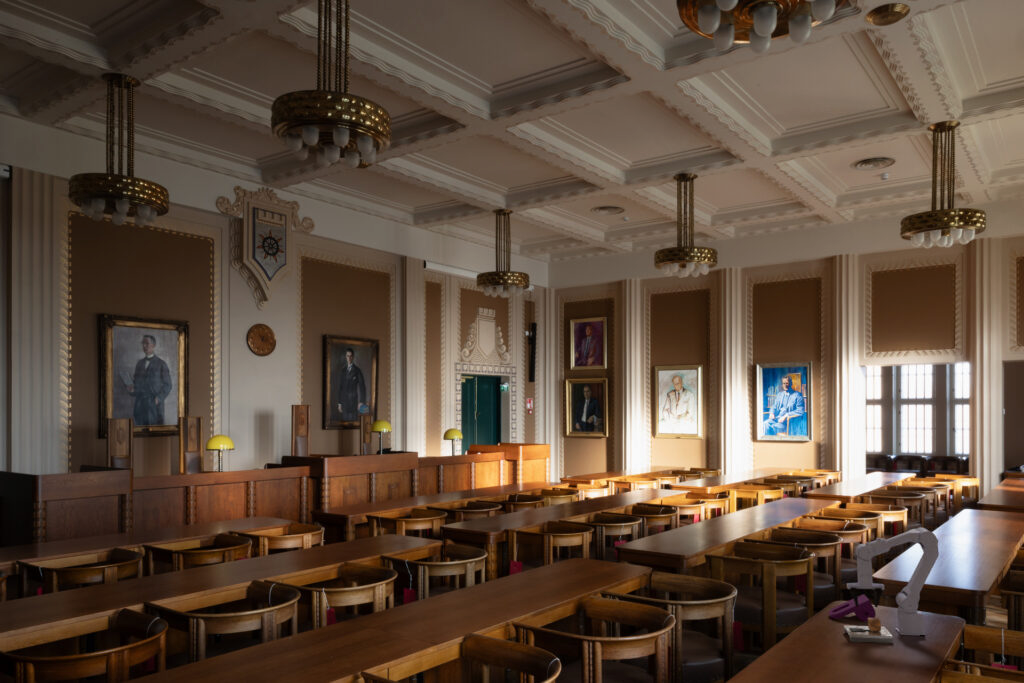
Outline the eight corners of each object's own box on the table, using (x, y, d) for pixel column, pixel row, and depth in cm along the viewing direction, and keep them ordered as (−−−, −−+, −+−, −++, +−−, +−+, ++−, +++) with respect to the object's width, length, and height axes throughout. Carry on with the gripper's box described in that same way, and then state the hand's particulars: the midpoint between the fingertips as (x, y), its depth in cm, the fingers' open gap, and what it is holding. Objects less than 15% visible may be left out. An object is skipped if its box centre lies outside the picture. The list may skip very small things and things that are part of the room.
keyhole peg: (878, 636, 323) (878, 618, 323) (881, 639, 319) (880, 621, 319) (868, 636, 323) (867, 617, 324) (871, 639, 319) (870, 620, 320)
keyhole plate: (884, 634, 326) (884, 626, 326) (893, 643, 314) (892, 636, 314) (844, 632, 329) (843, 625, 329) (850, 642, 317) (850, 634, 317)
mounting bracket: (840, 634, 345) (878, 617, 342) (830, 616, 346) (869, 599, 343) (835, 627, 354) (873, 611, 351) (826, 610, 355) (863, 594, 352)
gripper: (880, 571, 334) (882, 604, 333) (844, 571, 336) (845, 603, 336) (885, 575, 327) (886, 608, 326) (848, 575, 329) (849, 607, 329)
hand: (866, 606), depth 330 cm, fingers open, 7 cm apart
